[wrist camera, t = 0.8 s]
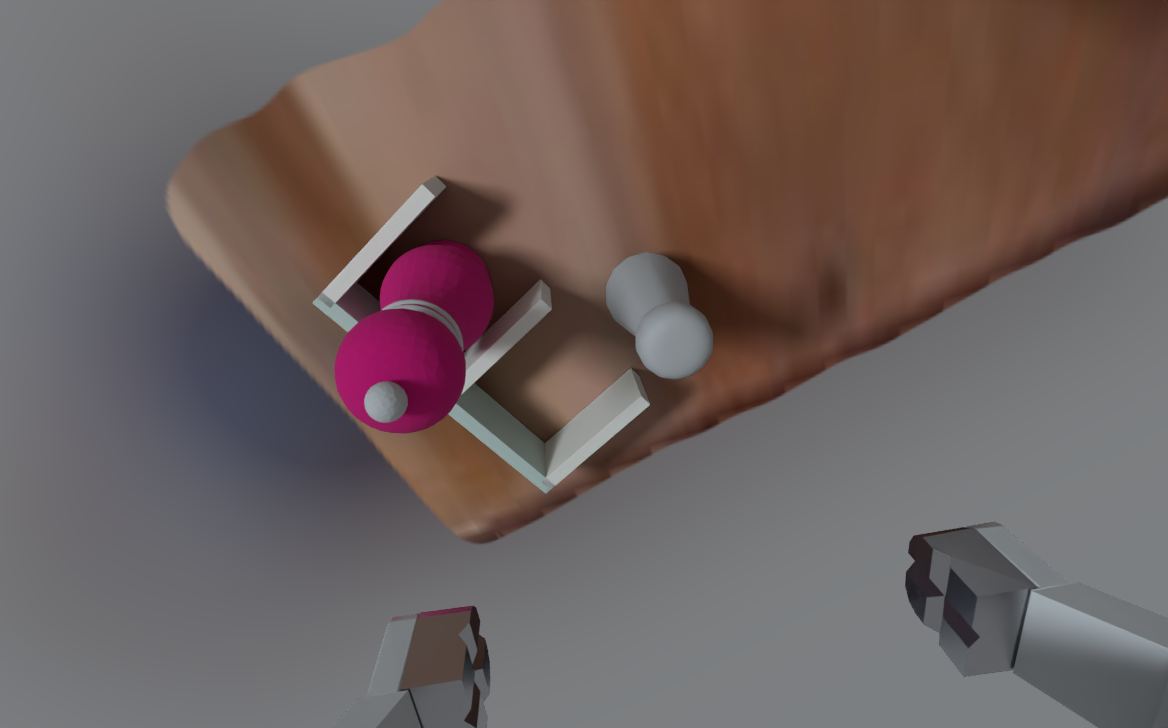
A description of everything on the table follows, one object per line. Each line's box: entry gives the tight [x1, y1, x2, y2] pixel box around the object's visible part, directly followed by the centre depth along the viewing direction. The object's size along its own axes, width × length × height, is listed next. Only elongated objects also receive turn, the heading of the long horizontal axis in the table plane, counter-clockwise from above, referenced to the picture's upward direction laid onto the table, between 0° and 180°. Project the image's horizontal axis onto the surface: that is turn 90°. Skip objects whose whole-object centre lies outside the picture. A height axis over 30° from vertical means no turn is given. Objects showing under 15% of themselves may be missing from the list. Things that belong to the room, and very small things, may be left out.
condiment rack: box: [313, 176, 650, 494], centre depth 42 cm, size 10×21×5 cm, turn 43°
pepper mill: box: [335, 240, 494, 433], centre depth 34 cm, size 7×7×20 cm
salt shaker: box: [606, 252, 713, 379], centre depth 38 cm, size 6×6×13 cm
